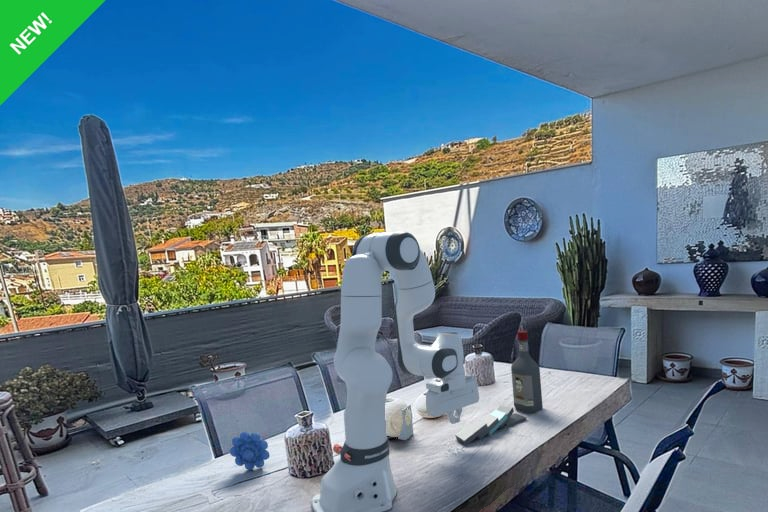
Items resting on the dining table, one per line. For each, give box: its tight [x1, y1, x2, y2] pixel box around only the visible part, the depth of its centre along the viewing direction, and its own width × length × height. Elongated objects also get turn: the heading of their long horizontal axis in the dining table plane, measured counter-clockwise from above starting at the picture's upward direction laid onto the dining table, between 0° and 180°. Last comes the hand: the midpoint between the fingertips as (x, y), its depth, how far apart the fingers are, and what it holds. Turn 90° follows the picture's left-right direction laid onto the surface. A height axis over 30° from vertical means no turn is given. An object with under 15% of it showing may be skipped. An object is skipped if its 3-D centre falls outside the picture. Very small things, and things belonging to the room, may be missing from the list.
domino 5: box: [503, 412, 527, 429], centre depth 148 cm, size 2×5×10 cm
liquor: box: [510, 330, 544, 414], centre depth 159 cm, size 9×9×30 cm
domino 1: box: [454, 418, 488, 446], centre depth 136 cm, size 2×5×10 cm
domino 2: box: [475, 413, 499, 441], centre depth 139 cm, size 2×5×10 cm
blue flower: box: [229, 431, 270, 471], centre depth 126 cm, size 12×7×12 cm, turn 101°
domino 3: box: [486, 409, 508, 436], centre depth 142 cm, size 2×5×10 cm
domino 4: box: [496, 404, 515, 429], centre depth 147 cm, size 2×5×10 cm
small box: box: [398, 403, 414, 441], centre depth 143 cm, size 8×6×10 cm
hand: (455, 422), depth 133 cm, fingers closed
